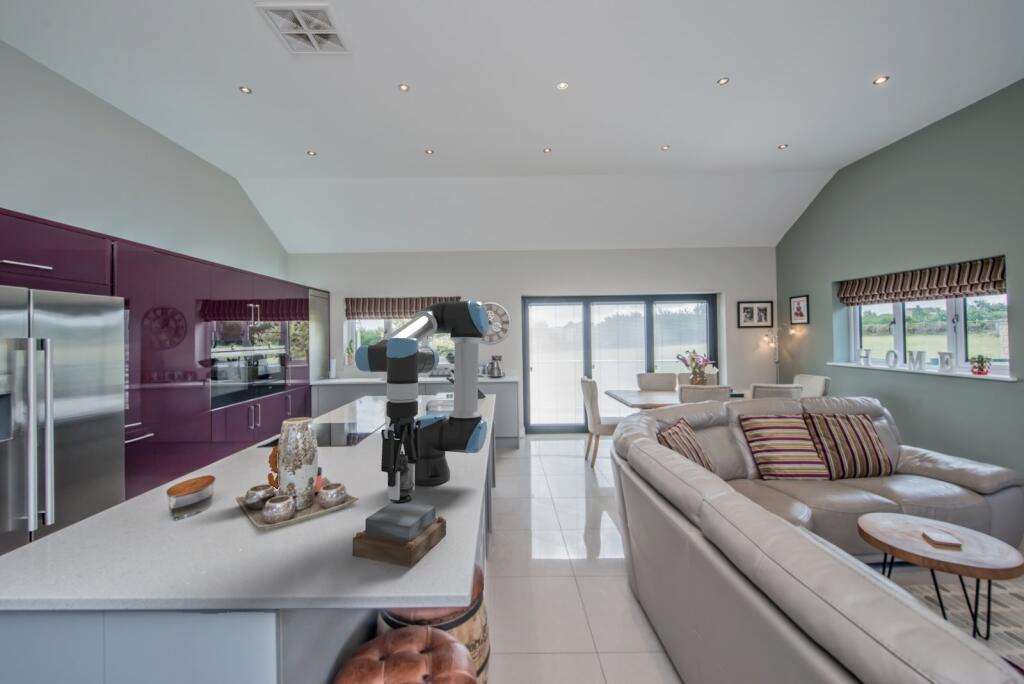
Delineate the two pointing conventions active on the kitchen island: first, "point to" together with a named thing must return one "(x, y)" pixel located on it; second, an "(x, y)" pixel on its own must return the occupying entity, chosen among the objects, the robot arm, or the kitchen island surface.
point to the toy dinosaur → (273, 468)
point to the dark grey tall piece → (404, 481)
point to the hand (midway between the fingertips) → (401, 493)
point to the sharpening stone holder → (400, 534)
